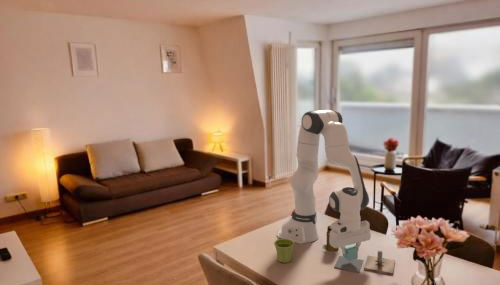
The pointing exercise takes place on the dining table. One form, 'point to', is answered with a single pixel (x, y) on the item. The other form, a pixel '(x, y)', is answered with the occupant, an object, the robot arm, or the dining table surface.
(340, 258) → the mat
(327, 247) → the condiment
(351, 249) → the teal cube
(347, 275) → the dining table surface
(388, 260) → the post
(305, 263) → the dining table surface
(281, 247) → the plant pot
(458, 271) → the dining table surface
